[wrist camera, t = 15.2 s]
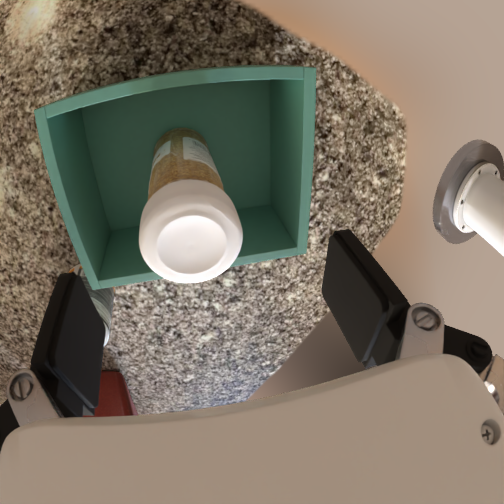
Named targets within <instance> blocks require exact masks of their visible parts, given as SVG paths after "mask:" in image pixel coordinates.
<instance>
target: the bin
mask: <svg viewBox="0 0 504 504" xmlns="http://www.w3.org/2000/svg"><path fill="white" fill-rule="evenodd" d="M315 104H316V68H315V67H304V66H290V65H241V66H224V67H211V68H201V69H192V70H184V71H177V72H170V73H163V74H157V75H152V76H146V77H141V78H136V79H131V80H126V81H122V82H118V83H113V84H109V85H105V86H102V87H98V88H94V89H90V90H87V91H83V92H80V93H77V94H74V95H71V96H68V97H65V98H62V99H60V100H57V101H55V102H52V103H49V104H47V105H45V106H42V107H40V108H37V109H35V110H34V114H35V120H36V125H37V129H38V134H39V138H40V143H41V147H42V151H43V155H44V159H45V163H46V166H47V170H48V174H49V177H50V181H51V184H52V187H53V190H54V194H55V197H56V200H57V203H58V206H59V209H60V212H61V215H62V217H63V220H64V223H65V226H66V228H67V231H68V234H69V236H70V239H71V242H72V244H73V247H74V249H75V252H76V254H77V256H78V259H79V261H80V263H81V266H82V268H83V270H84V273H85V275H86V277H87V279H88V281H89V284H90V286H91V288H92V290H96V289H101V288H108V287H115V286H121V285H127V284H133V283H139V282H145V281H151V280H157V279H163V277H161V276H160V275H158V274H157V273H155V272H154V271H153V270H152V269H151V268H150V267H149V266H148V265H147V263H146V262H145V260H144V259H143V257H142V254H141V252H140V247H139V228H140V221H141V216H142V212H143V209H144V207H145V205H146V203H147V202H148V195H149V192H148V191H149V182H150V176H151V169H152V163H153V159H154V157H153V154H154V148H155V146H156V143H157V141H158V140H159V139H160V138H161V137H162V136H163V135H164V134H165V133H166V132H168V131H170V130H172V129H174V128H188V129H192V130H195V131H196V132H198V133H199V134H201V135H202V136H203V138H204V139H205V141H206V143H207V145H208V149H209V152H210V154H211V156H212V159H213V162H214V164H215V166H216V169H217V171H218V174H219V176H220V178H221V181H222V184H223V189H224V192H225V193H226V194H227V195H228V196H229V198H230V199H231V200H232V202H233V204H234V206H235V209H236V211H237V214H238V217H239V220H240V223H241V226H242V231H243V240H242V246H241V249H240V252H239V254H238V256H237V258H236V259H235V261H234V262H233V263H232V264H231V266H230V267H233V266H239V265H244V264H250V263H256V262H261V261H267V260H273V259H278V258H284V257H289V256H295V255H301V254H306V251H307V240H308V229H309V217H310V204H311V190H312V174H313V156H314V134H315Z"/></svg>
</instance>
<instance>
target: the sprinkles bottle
mask: <svg viewBox="0 0 504 504" xmlns="http://www.w3.org/2000/svg"><path fill="white" fill-rule="evenodd" d="M153 157H154V159H153V163H152V169H151V176H150V182H149V191H148V192H149V195H148V202H147V203H146V205H145V207H144V209H143V212H142V216H141V221H140V228H139V247H140V252H141V254H142V257H143V259H144V260H145V262H146V263H147V265H148V266H149V267H150V268H151V269H152V270H153V271H154V272H155V273H157V274H158V275H160V276H161V277H163V278H165V279H168V280H170V281H174V282H179V283H198V282H203V281H206V280H209V279H212V278H214V277H216V276H218V275H219V274H221V273H223V272H224V271H225V270H226V269H228V268H229V267H230V266H231V264H232V263H233V262H234V261H235V259H236V258H237V256H238V254H239V252H240V249H241V246H242V240H243V231H242V226H241V223H240V220H239V217H238V214H237V211H236V209H235V206H234V204H233V202H232V200H231V199H230V198H229V196H228V195H227V194H226V193H225V192H224V189H223V184H222V181H221V178H220V176H219V174H218V171H217V169H216V166H215V164H214V162H213V159H212V156H211V154H210V152H209V149H208V145H207V143H206V141H205V139H204V138H203V136H202V135H201V134H199V133H198V132H196V131H195V130H192V129H188V128H174V129H172V130H170V131H168V132H166V133H165V134H164V135H163V136H162V137H161V138H160V139H159V140H158V141H157V143H156V146H155V148H154V154H153Z"/></svg>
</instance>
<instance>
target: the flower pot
mask: <svg viewBox="0 0 504 504" xmlns="http://www.w3.org/2000/svg"><path fill="white" fill-rule="evenodd" d="M134 415H138V413H137V410H136V408H135V405H134V403H133V400H132V398H131V395H130V393H129V390H128V388H127V385H126V382H125V379H124V377H123V375H122V374H121V373H119V372H115V371H101V378H100V390H99V404H98V407H97V408H95V416H88V415H83V417H112V416H134Z"/></svg>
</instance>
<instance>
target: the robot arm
mask: <svg viewBox="0 0 504 504" xmlns="http://www.w3.org/2000/svg"><path fill="white" fill-rule="evenodd" d="M453 219H454V223H455V225H456V227H457V228H458V229H459V230H461V231H462V232H464V233H469V232H472V231H474V230H475V231H476V232H477V233H478V234H479V235H480V236H482V237H483V238H484V239H485V240H486V241H487V242H488V243H490V244H491V245H492V246H493V247H494V248H495V249H496V250H497V251H498V252H499V253H500V254H502V255H503V256H504V181H502V180H500V174H499V171H498V169H497V167H496V166H495V165H494V164H492V163H490V162H486V161H484V162H481V163H479V164H477V165H476V166H475V167H473V168H472V169H471V170H470V172H469V173H468V174H467V175H466V177H465V178H464V180H463V182H462V184H461V186H460V188H459V190H458V193H457V196H456V199H455V203H454V209H453ZM322 295H323V297H324V299H325V301H326V303H327V305H328V306H329V308H330V310H331V312H332V313H333V316H334V317H335V319H336V321H337V323H338V325H339V327H340V329H341V330H342V332H343V334H344V336H345V338H346V340H347V342H348V344H349V345H350V347H351V349H352V351H353V353H354V355H355V357H356V359H357V360H358V362H362V363H363V365H364V367H365V368H368V367H371V366H374V365H377V367H374V368H371V369H368V370H365V371H361V372H358V373H355V374H352V375H349V376H345V377H342V378H339V379H335V380H332V381H329V382H325V383H322V384H318V385H315V386H311V387H307V388H303V389H299V390H295V391H291V392H287V393H283V394H279V395H274V396H270V397H265V398H260V399H256V400H251V401H245V402H240V403H235V404H229V405H223V406H217V407H210V408H203V409H196V410H188V411H180V412H171V413H161V414H149V415H134V416H112V417H83V415H88V416H95V408H97V407H98V404H99V390H100V378H101V368H102V358H103V350H104V342H105V335H106V328H105V324H104V322H103V320H102V318H101V317H100V315H99V313H98V311H97V309H96V307H95V305H94V303H93V301H92V299H91V297H90V295H89V293H88V291H87V289H86V287H85V285H84V283H83V280H82V278H81V276H80V275H76V273H75V272H70V273H64V274H60V275H59V277H58V280H57V282H56V285H55V288H54V290H53V293H52V296H51V298H50V301H49V304H48V307H47V310H46V313H45V315H44V318H43V322H42V325H41V328H40V331H39V334H38V338H37V341H36V345H35V348H34V352H33V355H32V359H31V368H30V370H29V369H20V370H18V371H16V372H15V373H14V374H13V375H12V376H11V377H10V379H9V380H8V383H7V386H6V395H7V398H8V399H7V400H6V401H5V402H4V403H3V404H2V405H1V406H0V504H504V359H502V358H501V357H500V356H498V355H497V354H496V355H495V356H492V351H491V348H490V346H489V345H488V343H487V342H486V341H485V340H483V339H482V338H480V337H478V336H475V335H472V334H469V333H467V332H464V331H461V330H458V329H455V328H453V327H450V326H447V325H444V318H443V316H442V314H441V313H440V312H439V311H438V309H436V308H435V307H433V306H432V305H429V304H426V303H416V304H414V305H412V306H410V304H409V303H408V302H407V299H406V298H405V297H404V295H403V294H402V293H401V291H400V290H399V289H398V287H397V286H396V285H395V284H394V282H393V281H392V280H391V279H390V277H389V276H388V275H387V273H386V272H385V271H384V270H383V268H382V267H381V266H380V265H379V264H378V262H377V261H376V260H375V259H374V258H373V256H372V255H371V254H370V253H369V251H368V250H367V249H366V248H365V247H364V245H363V244H362V243H361V242H360V241H359V240H358V238H357V237H356V236H355V235H354V234H353V233H352V231H351V230H349V229H347V230H340V231H335V232H334V233H333V235H332V236H330V238H329V244H328V251H327V258H326V265H325V271H324V277H323V284H322Z"/></svg>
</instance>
